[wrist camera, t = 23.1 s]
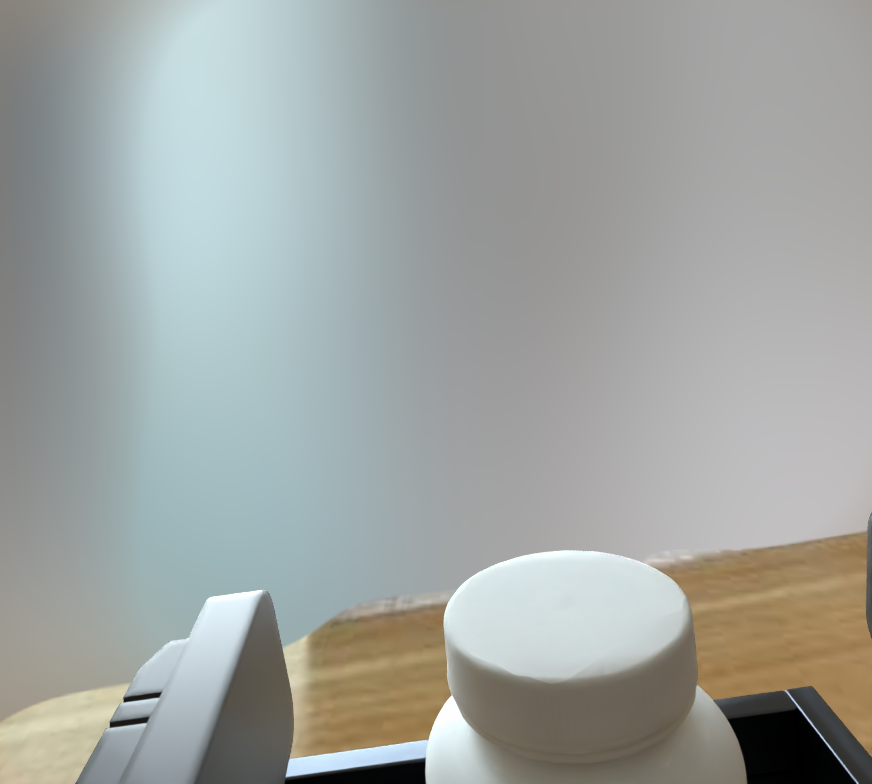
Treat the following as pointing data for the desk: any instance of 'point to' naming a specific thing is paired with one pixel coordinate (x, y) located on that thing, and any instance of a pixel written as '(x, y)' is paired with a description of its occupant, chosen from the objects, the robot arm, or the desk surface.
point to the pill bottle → (576, 680)
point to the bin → (748, 715)
